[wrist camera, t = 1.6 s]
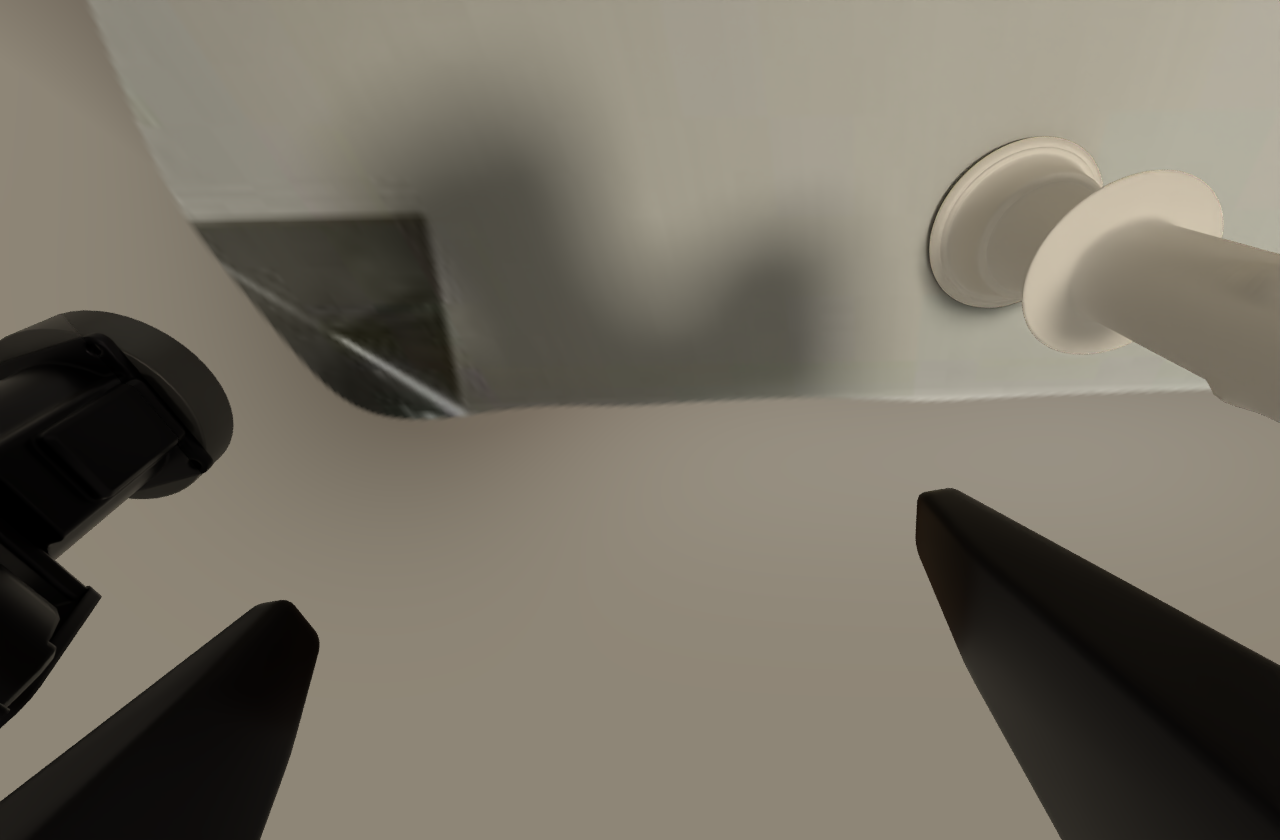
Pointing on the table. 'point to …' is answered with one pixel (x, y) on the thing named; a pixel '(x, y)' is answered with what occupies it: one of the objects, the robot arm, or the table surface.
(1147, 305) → the candle
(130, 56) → the table surface
